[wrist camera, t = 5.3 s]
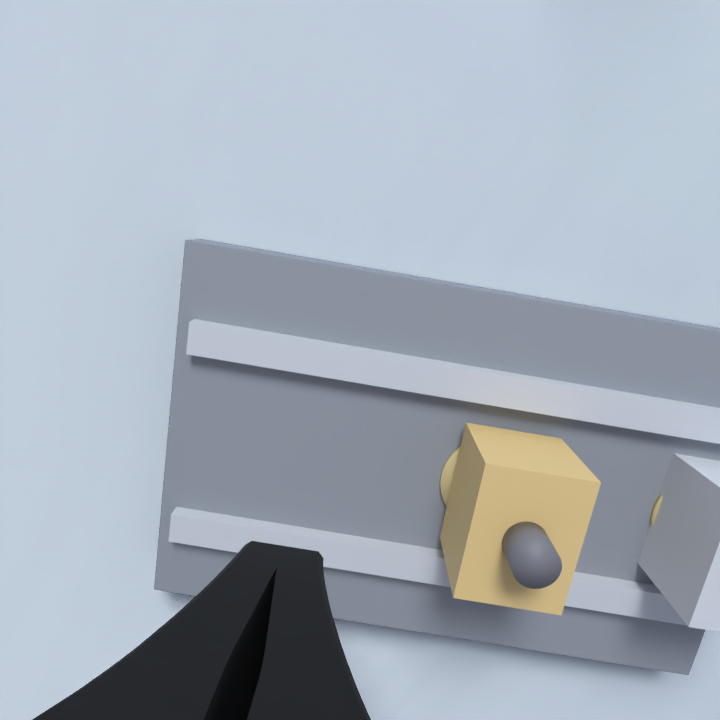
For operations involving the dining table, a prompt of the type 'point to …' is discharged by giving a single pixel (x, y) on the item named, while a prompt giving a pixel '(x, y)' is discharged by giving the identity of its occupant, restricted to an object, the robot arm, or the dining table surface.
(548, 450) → the slider
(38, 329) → the dining table surface
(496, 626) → the gauge plate
